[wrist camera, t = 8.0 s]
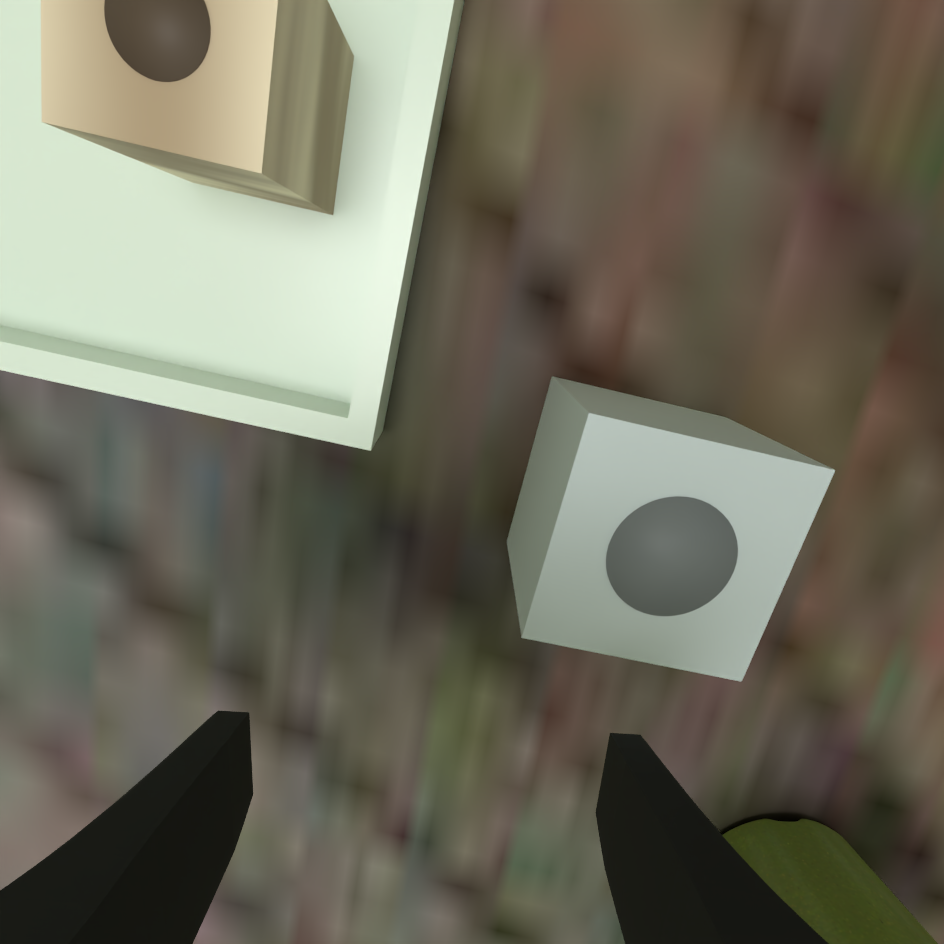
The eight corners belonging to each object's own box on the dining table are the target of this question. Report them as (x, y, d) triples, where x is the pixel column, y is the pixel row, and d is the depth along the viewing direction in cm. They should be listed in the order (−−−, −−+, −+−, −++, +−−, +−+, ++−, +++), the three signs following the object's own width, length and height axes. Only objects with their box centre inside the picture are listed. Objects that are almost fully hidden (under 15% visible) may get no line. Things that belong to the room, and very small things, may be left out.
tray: (479, -79, 15) (482, -150, 12) (382, 430, 19) (370, 450, 17) (-170, -270, 14) (-305, -389, 11) (-124, 318, 18) (-216, 322, 15)
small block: (354, 55, 15) (285, -88, 9) (333, 214, 16) (260, 173, 11) (203, 18, 15) (37, -155, 9) (192, 182, 16) (39, 120, 10)
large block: (724, 416, 19) (836, 470, 13) (666, 574, 21) (742, 682, 15) (551, 375, 19) (589, 413, 13) (506, 540, 20) (521, 638, 15)
